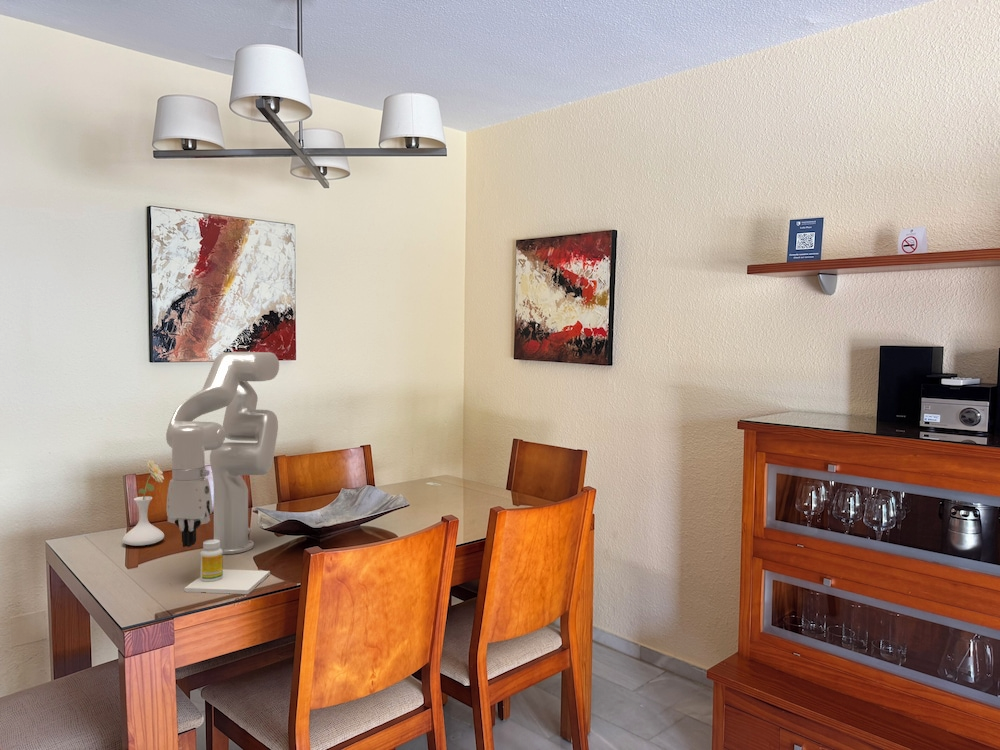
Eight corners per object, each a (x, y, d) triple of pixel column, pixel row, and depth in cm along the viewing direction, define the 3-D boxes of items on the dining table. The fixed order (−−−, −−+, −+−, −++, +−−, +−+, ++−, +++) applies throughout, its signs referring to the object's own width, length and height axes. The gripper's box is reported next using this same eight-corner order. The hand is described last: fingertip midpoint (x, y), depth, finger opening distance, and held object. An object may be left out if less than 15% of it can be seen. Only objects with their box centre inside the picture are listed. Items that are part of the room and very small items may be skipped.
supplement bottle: (196, 578, 177) (196, 541, 176) (217, 573, 181) (216, 537, 180) (205, 583, 173) (205, 545, 173) (226, 578, 177) (226, 541, 176)
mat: (211, 572, 184) (211, 569, 184) (269, 574, 183) (269, 571, 183) (184, 591, 170) (184, 587, 170) (247, 594, 169) (247, 590, 169)
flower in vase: (146, 550, 202) (146, 465, 201) (113, 547, 204) (112, 463, 203) (176, 537, 215) (175, 458, 213) (144, 535, 217) (143, 456, 216)
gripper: (223, 472, 179) (224, 542, 180) (168, 470, 180) (168, 540, 181) (210, 478, 171) (210, 550, 172) (151, 476, 172) (152, 548, 173)
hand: (189, 545), depth 177 cm, fingers closed
